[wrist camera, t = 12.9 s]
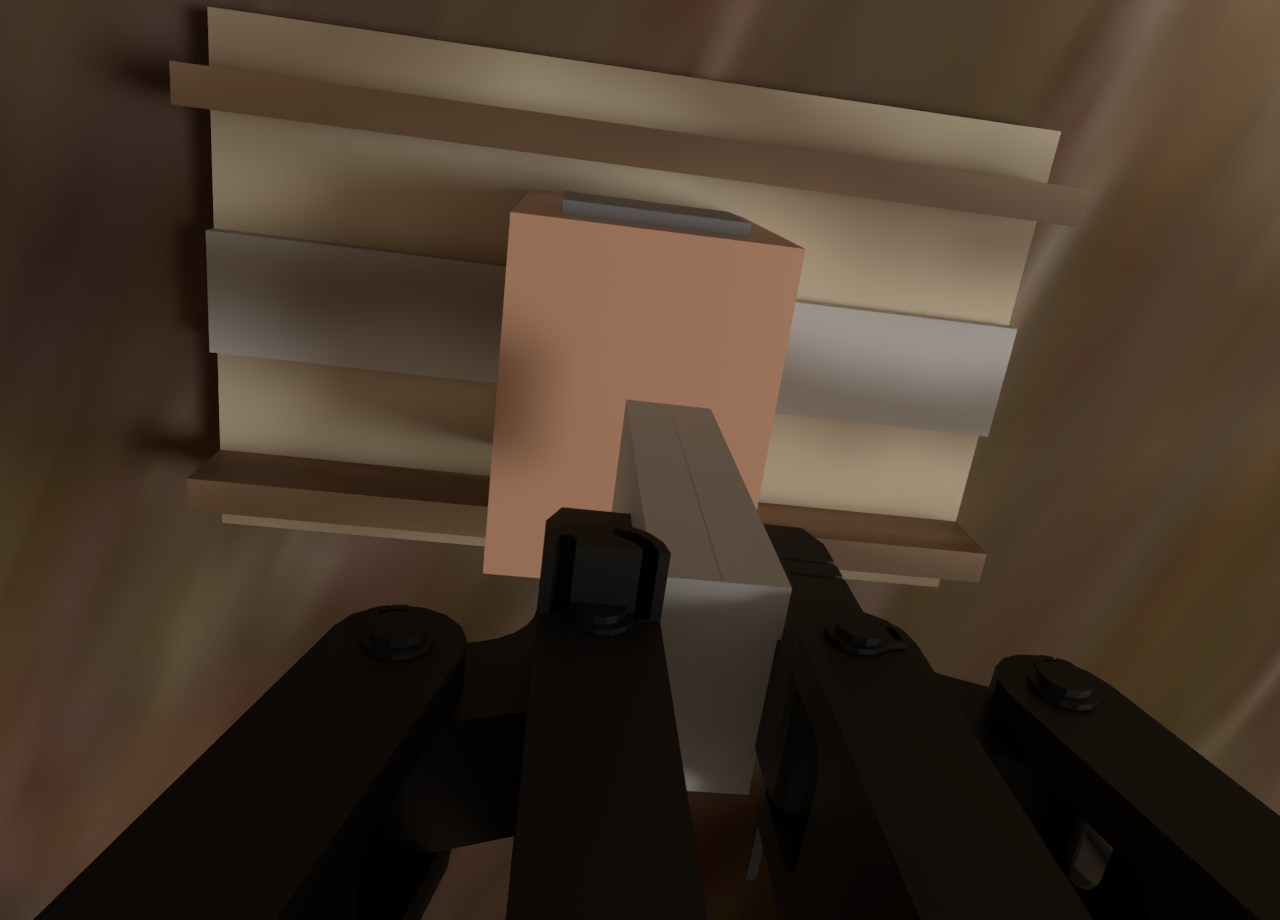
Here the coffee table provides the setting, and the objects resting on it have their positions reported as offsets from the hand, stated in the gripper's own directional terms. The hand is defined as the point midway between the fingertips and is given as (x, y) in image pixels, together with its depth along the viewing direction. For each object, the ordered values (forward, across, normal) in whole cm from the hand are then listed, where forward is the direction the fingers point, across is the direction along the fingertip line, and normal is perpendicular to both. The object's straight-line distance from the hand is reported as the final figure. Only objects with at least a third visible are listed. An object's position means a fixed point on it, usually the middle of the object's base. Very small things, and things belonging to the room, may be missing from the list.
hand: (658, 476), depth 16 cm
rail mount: (+13, 0, 0) cm, 13 cm away
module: (+12, 0, 0) cm, 12 cm away
